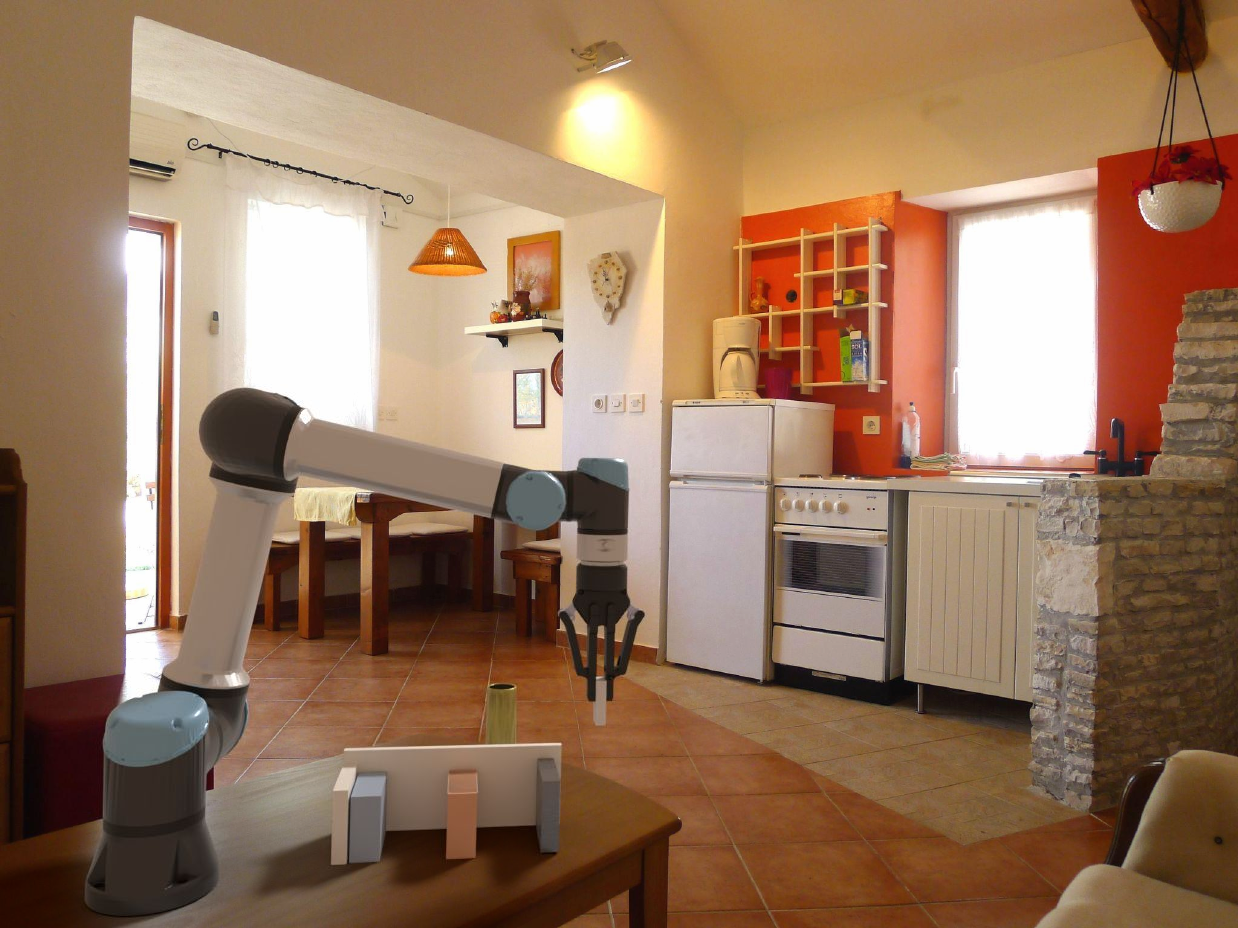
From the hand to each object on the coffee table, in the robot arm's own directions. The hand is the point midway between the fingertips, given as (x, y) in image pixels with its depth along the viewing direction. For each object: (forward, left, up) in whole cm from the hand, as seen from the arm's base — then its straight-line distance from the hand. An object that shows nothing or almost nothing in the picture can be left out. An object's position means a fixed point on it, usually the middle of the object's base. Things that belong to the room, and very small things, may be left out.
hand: (599, 722), depth 136 cm
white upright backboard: (-21, +1, -17) cm, 27 cm away
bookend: (-7, 0, -17) cm, 18 cm away
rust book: (-20, 0, -17) cm, 26 cm away
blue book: (-33, 0, -17) cm, 37 cm away
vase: (-13, +34, -17) cm, 40 cm away
